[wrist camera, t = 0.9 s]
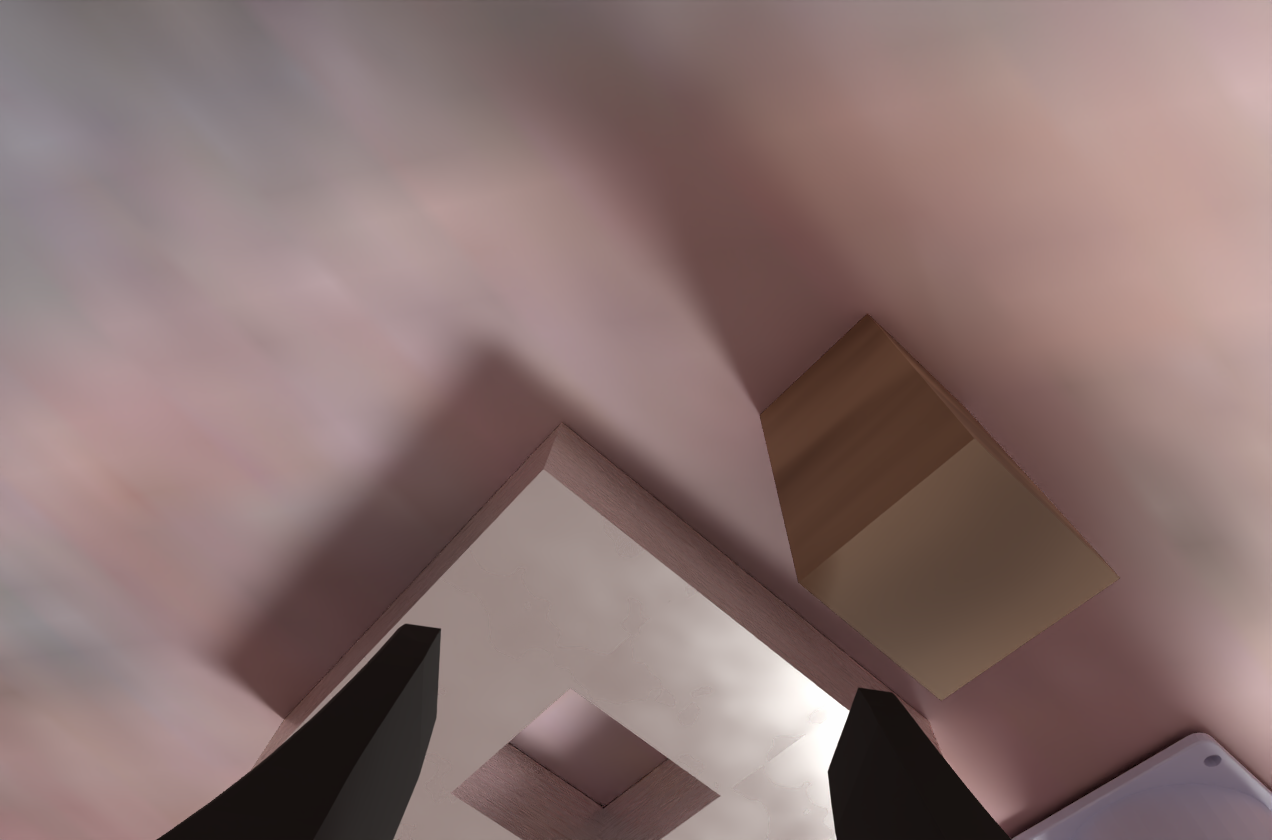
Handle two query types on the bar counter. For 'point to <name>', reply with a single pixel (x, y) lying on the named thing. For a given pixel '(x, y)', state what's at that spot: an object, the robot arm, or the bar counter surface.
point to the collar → (612, 670)
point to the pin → (918, 516)
